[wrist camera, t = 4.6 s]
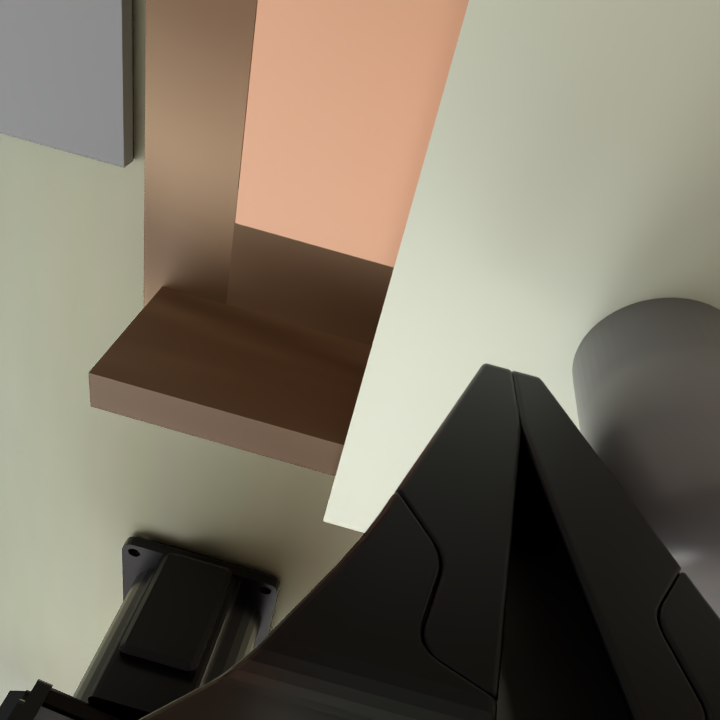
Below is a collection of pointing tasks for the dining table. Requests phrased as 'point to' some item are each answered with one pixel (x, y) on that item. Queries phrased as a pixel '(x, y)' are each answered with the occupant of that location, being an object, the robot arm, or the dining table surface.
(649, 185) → the sliding cover
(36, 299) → the dining table surface
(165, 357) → the walnut board
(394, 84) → the terracotta block
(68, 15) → the grey pad
